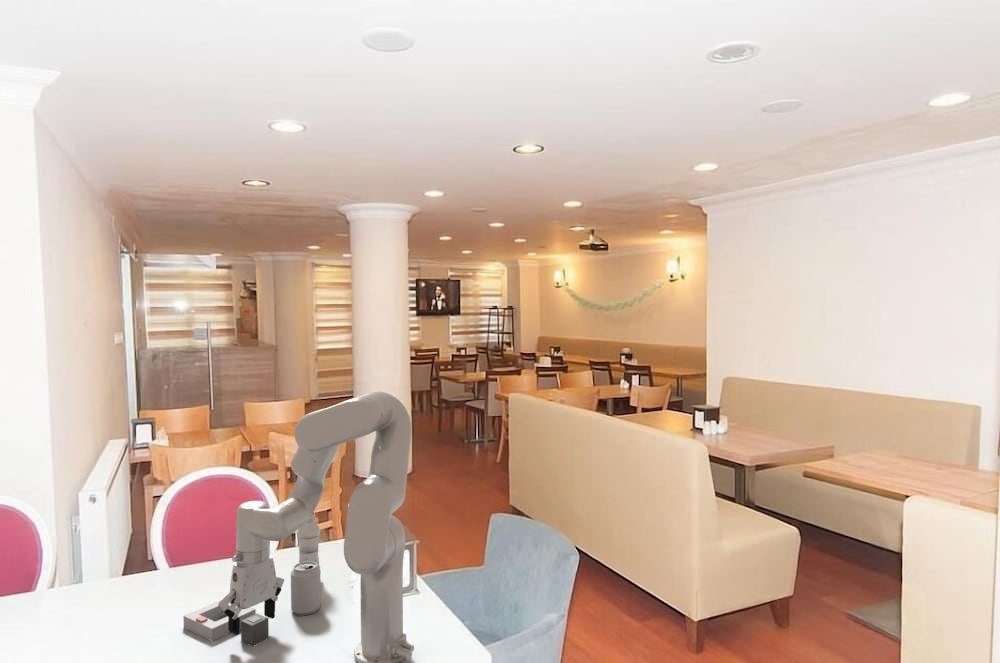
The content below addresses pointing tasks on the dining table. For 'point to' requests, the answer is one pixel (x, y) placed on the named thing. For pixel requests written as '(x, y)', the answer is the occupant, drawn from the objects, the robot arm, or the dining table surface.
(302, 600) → the can
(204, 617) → the socket plate
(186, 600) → the dining table surface
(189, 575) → the dining table surface
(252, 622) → the plug
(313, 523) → the plastic bottle
